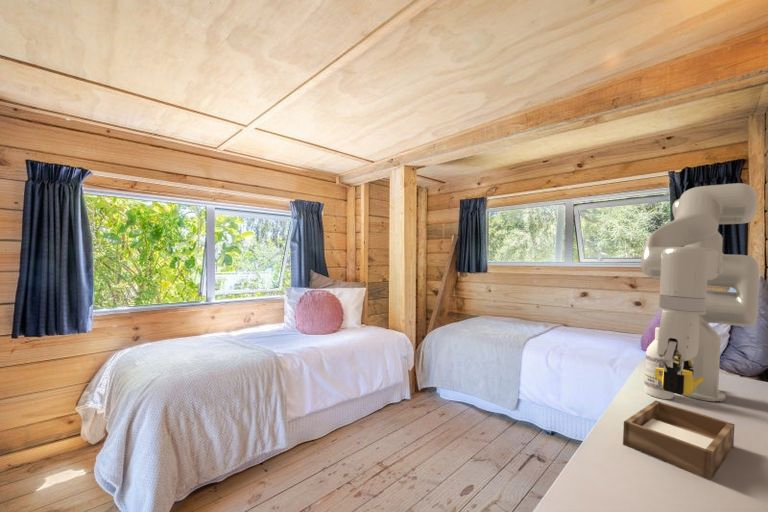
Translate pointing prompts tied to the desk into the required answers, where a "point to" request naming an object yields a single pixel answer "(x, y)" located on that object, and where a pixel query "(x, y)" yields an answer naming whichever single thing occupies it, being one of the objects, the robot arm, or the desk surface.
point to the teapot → (688, 380)
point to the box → (678, 450)
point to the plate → (678, 433)
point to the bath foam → (651, 362)
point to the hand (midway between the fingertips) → (678, 388)
